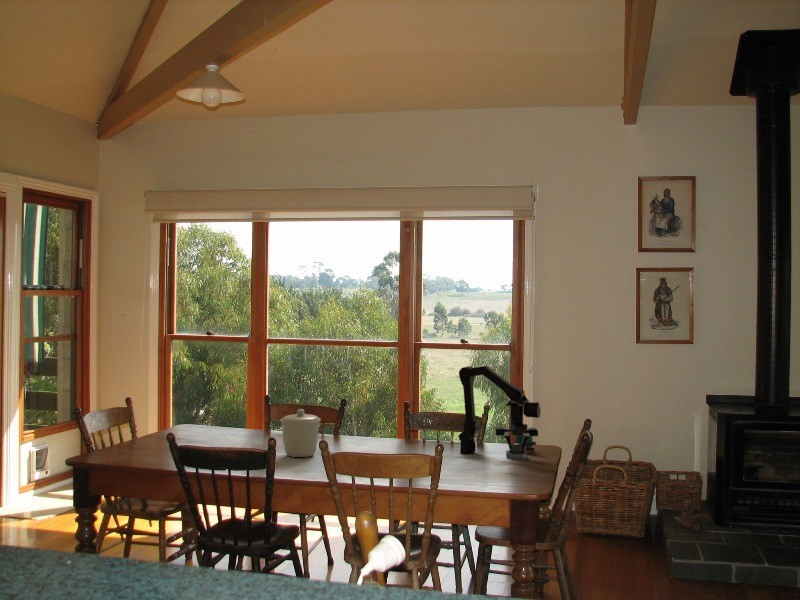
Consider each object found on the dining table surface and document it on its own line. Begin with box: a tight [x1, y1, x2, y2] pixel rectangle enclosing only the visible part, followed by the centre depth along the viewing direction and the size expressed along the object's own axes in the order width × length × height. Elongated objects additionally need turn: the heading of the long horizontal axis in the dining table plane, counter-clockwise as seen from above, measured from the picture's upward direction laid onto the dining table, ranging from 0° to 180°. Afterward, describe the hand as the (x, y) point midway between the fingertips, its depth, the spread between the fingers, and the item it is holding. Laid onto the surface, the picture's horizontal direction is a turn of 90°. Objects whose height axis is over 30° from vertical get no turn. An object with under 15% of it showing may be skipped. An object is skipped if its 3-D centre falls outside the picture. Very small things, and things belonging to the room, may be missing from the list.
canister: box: [279, 408, 322, 458], centre depth 339 cm, size 18×18×21 cm
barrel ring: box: [505, 449, 528, 461], centre depth 337 cm, size 9×9×2 cm
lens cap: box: [511, 442, 522, 454], centre depth 337 cm, size 5×5×4 cm
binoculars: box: [514, 435, 537, 454], centre depth 351 cm, size 9×11×10 cm
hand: (516, 450), depth 337 cm, fingers closed on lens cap, 5 cm apart
